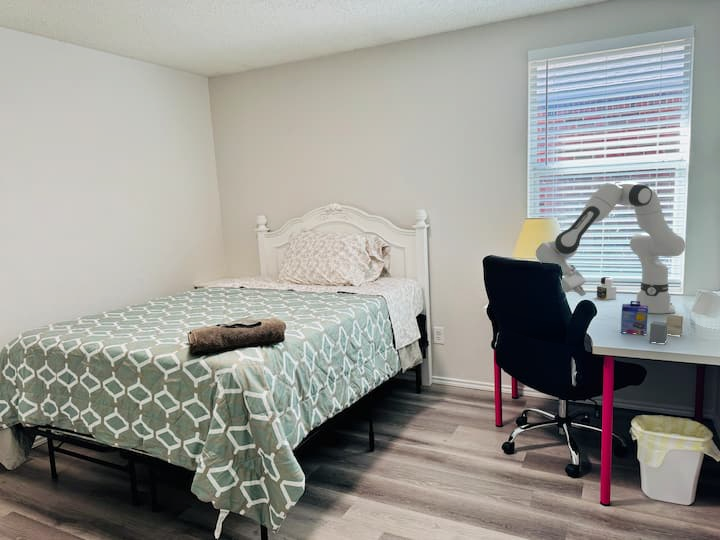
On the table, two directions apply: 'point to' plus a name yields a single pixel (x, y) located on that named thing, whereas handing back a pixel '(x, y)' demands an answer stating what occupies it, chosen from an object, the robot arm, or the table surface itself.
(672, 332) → the birch block
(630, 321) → the ink cartridge box
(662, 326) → the slate block
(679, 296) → the table surface
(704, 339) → the table surface
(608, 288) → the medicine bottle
